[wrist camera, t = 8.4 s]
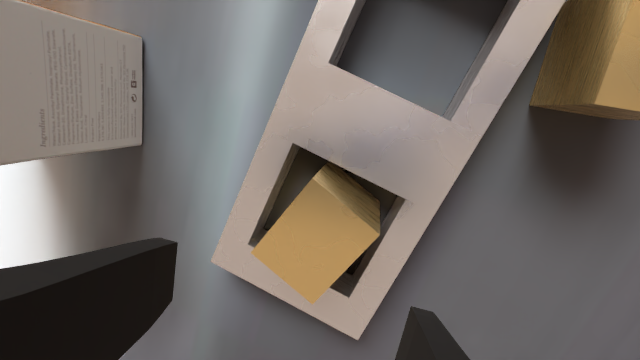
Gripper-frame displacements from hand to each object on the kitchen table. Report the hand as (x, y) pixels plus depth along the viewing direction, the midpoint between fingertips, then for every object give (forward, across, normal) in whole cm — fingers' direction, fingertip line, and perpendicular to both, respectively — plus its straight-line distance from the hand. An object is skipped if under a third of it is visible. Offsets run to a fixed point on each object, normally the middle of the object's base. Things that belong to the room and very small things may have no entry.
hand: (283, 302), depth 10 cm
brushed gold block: (+9, 0, 0) cm, 9 cm away
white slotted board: (+9, -1, -5) cm, 11 cm away
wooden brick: (+9, -10, -10) cm, 17 cm away
